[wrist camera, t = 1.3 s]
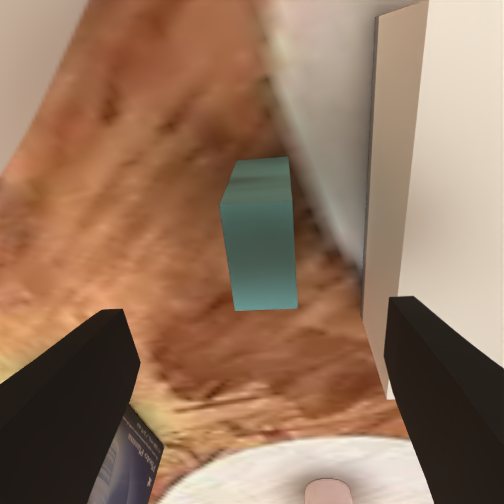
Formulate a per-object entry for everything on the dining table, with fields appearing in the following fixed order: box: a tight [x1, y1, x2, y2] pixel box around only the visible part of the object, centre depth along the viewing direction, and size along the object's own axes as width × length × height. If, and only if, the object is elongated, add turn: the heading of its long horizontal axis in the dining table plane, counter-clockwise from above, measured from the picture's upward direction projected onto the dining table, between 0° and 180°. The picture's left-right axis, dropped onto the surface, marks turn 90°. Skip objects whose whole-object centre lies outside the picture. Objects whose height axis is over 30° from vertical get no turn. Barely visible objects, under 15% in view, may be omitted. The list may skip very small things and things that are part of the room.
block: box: [219, 156, 298, 311], centre depth 16 cm, size 4×2×6 cm, turn 6°
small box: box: [87, 405, 164, 504], centre depth 23 cm, size 11×6×10 cm, turn 24°
